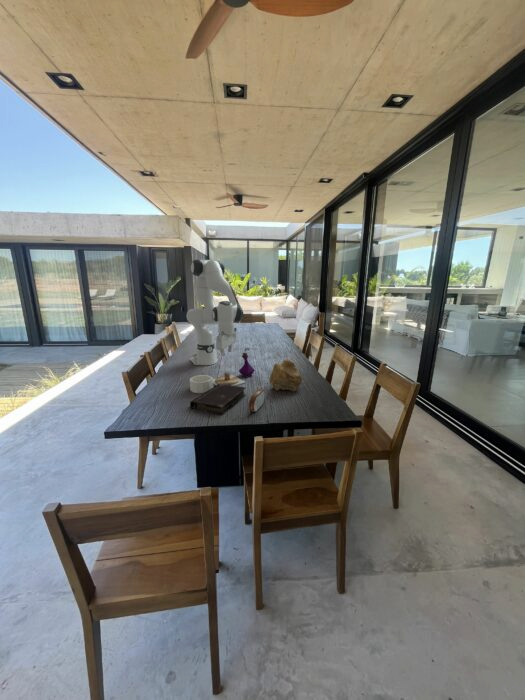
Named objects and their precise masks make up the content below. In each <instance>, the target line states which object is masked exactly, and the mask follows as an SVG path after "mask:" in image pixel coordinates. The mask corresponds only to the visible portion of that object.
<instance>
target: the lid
mask: <svg viewBox="0 0 525 700" xmlns="http://www.w3.org/2000/svg"><path fill="white" fill-rule="evenodd" d="M230 374H231V373H230V372H228V371H226V372H224V375H222V376H221V375H220V376H218V377H216V378H214V379H215V382H216V383H217V384H224V385H233V384H236V383H238V382H239V379H240V378H239V377H237V376H236V375H233V376H230Z"/></svg>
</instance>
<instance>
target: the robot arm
mask: <svg viewBox="0 0 525 700" xmlns="http://www.w3.org/2000/svg"><path fill="white" fill-rule="evenodd" d="M225 270H226V269H225V264H224V262H222V261H220V260H215V259H214V260H213V259H199V258H197V259H193V260H192V261H191V265H190V271H191V274H192V275H193V276H195V277H196V284H195V285H196V286H195V287H196V293H195V294H196V300H197V301H198V302H199V303H200V304H202V305H203V308H197V307H196V308H191V309H188V311H187V312H186V320H187V321H188V323H189V324H191V325H192V326H193V328H194V329H195V332H196V336H197V337H196V338H197V344H196V349H195V351H193V353H192V354H191V355H192V357H191V358H189V360H190V361H191V362H192V363H193V365H194V366H196V365H197V366H211V365H215V364H217V362H218V361H219V359H218V357H217V356H218V355H217V354H218V353H217V350H219V351H220V355H221V356H222V357H225V356H226V352H225V349H226V348H228V349H227V352H228V353H231V352H232V349H233V344H235V343H236V341H237V331H238V330H237V327H235V325H234V324H235V323H240V322H241V321H242V320H243V318H244V310H243V308H242V306H241V305H240V302H239V300H238V297H237V295H236V292H235V290H234V288H233V286H232V284H230V282H228V281H227V280H226V279H225V277H224V274H225ZM213 292H216V293H219V294H222V295H224V296H226V297H227V298H228V300H221V301H219V302H218V305H217V306H216V303H215V300H214V293H213ZM206 325H211V326H212V325H213V326H214V325H217V327H218V328H217V329H218V330H217V331H218V333H217V336H216V340H215V339H214V338H215V337H214V332H213V331H212V330H211V329H209V328H208V327H207V326H206ZM214 340H215V341H216V342H214ZM215 347H216V349H215Z"/></svg>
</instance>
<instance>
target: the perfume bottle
mask: <svg viewBox="0 0 525 700" xmlns="http://www.w3.org/2000/svg"><path fill="white" fill-rule="evenodd" d="M243 351H244V352H242V355H241V358H243V360H244V363H243V366H241V368H240V369H239V370H238V373H239V374H240V375H241V376H243V377H246V378H248V377H250V376H252V375H253V374H254V372H255V368H253V366H252V365H251V364H250V362H249V361H248V358H249V355H248V353H247V351H250V348H249V347H244V349H243Z"/></svg>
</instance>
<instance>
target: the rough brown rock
mask: <svg viewBox="0 0 525 700" xmlns="http://www.w3.org/2000/svg"><path fill="white" fill-rule="evenodd" d="M302 381H303V377H302V374H300V373H299V371H298V368H297V367H296V364H295V363H294V361H292V360H291V359H288V358H285V359H284V360H283V361H282V363H281V364H279V363H278V362H275V363H274V365H273V368H272V370H271V373H270V377H269V383H270V384H272V386H273V389H274V391H280V390H282V391H285V390H288V391H291V392H296V391H297V390H298V388H299V387H300V385H301V384H302Z"/></svg>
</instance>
